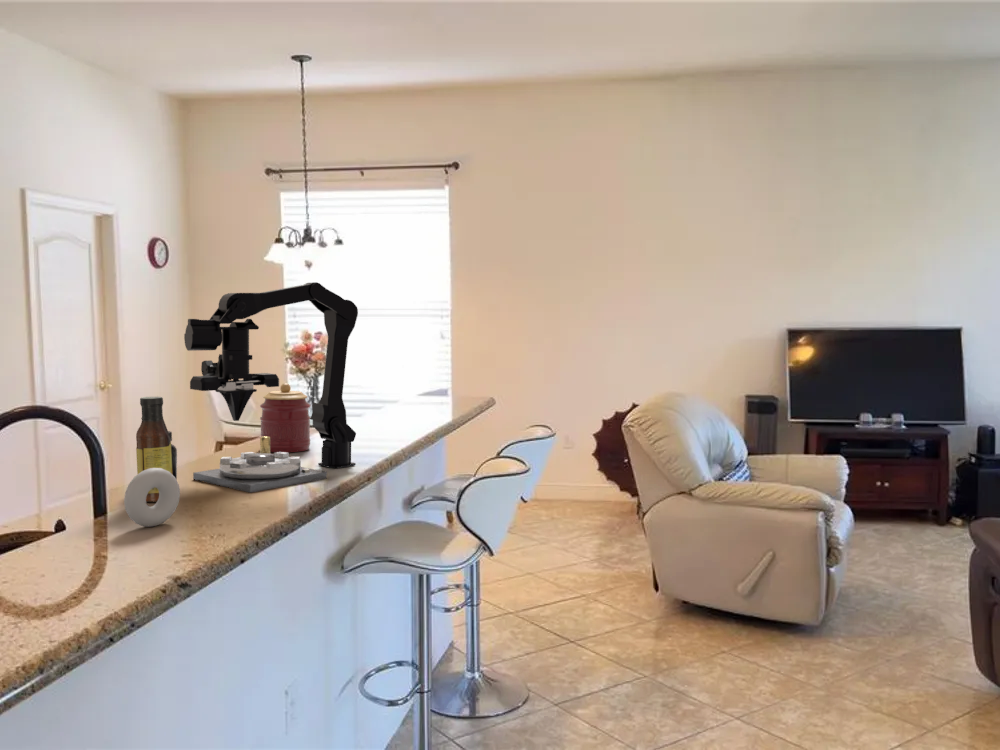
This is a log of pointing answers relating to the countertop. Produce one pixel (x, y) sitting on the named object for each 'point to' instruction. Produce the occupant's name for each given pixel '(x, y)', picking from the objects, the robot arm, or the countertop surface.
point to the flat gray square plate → (259, 480)
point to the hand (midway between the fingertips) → (236, 420)
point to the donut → (139, 491)
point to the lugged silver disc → (260, 464)
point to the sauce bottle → (153, 441)
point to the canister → (286, 420)
